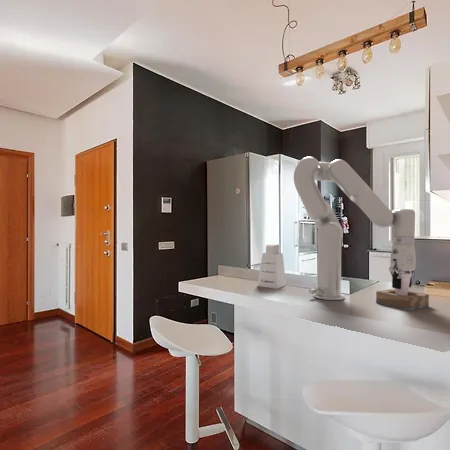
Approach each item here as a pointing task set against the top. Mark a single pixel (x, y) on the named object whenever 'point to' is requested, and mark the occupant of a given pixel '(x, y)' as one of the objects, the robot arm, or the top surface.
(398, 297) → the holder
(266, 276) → the grater
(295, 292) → the top surface
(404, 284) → the smoothie
